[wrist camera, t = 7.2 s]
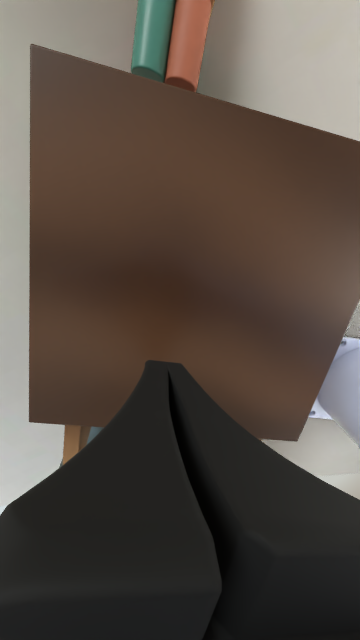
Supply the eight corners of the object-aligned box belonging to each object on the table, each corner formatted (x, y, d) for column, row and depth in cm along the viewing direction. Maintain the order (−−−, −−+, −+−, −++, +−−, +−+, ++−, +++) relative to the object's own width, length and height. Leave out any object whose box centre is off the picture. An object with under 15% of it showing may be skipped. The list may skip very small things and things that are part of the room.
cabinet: (246, 365, 22) (297, 441, 14) (74, 344, 20) (28, 422, 12) (303, 184, 17) (422, 159, 10) (89, 130, 15) (29, 41, 8)
